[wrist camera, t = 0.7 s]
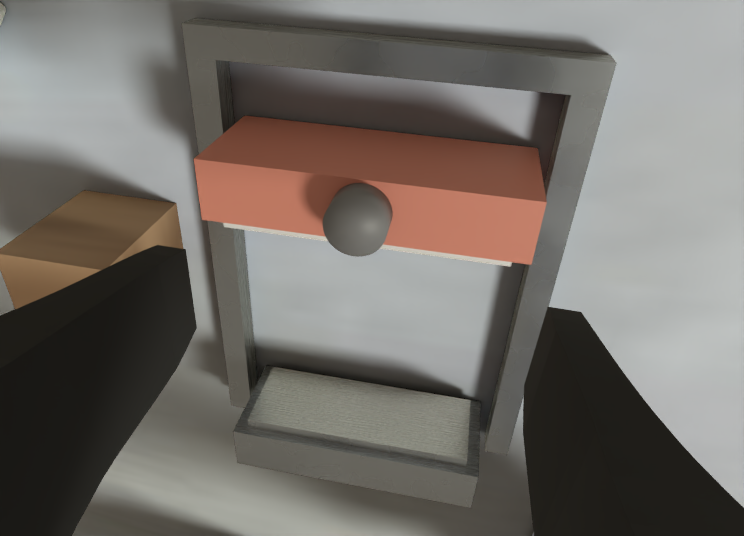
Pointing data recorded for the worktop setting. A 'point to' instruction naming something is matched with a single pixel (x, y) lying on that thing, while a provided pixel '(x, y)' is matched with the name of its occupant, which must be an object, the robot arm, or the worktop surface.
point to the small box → (2, 12)
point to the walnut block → (84, 242)
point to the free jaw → (375, 190)
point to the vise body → (361, 399)
